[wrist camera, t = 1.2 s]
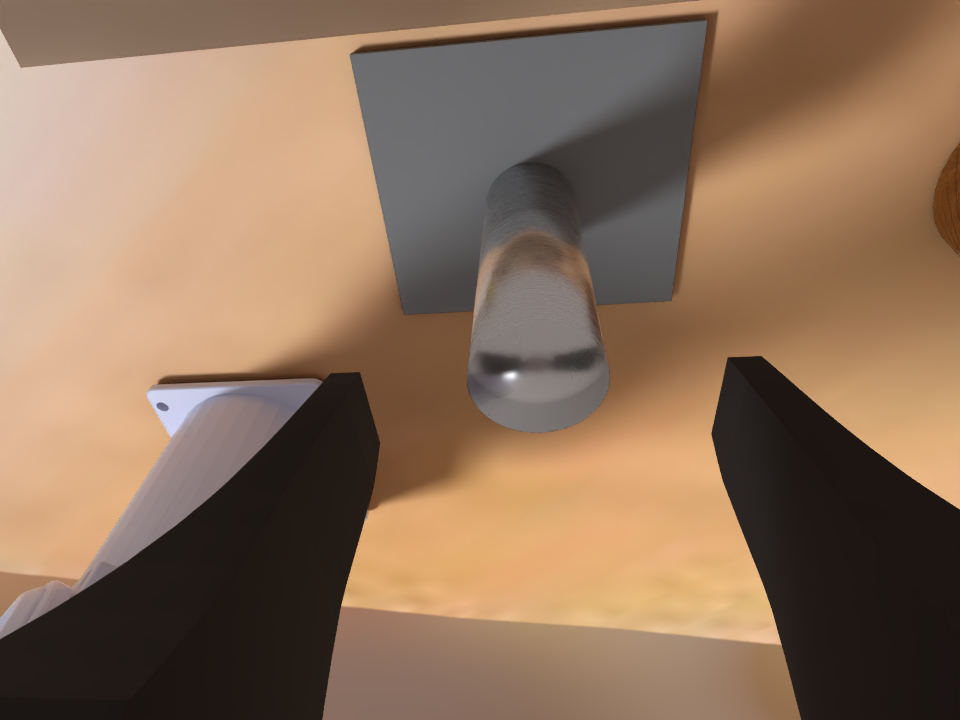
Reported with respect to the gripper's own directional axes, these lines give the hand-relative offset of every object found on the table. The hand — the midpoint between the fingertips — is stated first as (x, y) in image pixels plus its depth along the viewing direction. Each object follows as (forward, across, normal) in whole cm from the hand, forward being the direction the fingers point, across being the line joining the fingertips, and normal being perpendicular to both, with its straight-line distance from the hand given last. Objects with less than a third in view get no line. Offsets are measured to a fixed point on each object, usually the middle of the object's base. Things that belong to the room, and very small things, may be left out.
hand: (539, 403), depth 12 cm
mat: (+10, 0, 0) cm, 10 cm away
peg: (+10, 0, 0) cm, 10 cm away
